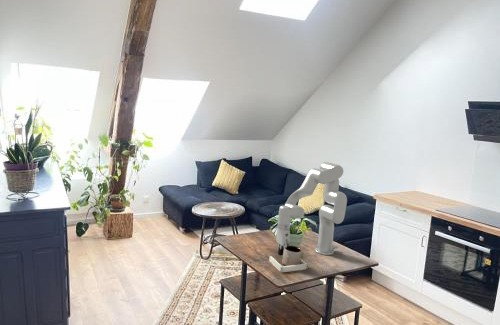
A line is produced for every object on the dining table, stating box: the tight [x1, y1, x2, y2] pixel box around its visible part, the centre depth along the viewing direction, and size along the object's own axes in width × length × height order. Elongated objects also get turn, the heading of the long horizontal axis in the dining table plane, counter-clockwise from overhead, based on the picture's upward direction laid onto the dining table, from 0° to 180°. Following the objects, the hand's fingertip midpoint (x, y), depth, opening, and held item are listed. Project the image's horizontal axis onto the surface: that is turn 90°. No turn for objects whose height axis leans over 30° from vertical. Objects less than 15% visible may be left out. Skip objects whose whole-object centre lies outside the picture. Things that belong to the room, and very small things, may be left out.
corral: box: [269, 255, 309, 273], centre depth 220 cm, size 17×16×3 cm
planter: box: [281, 244, 303, 266], centre depth 221 cm, size 11×11×10 cm
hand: (280, 254), depth 226 cm, fingers closed
